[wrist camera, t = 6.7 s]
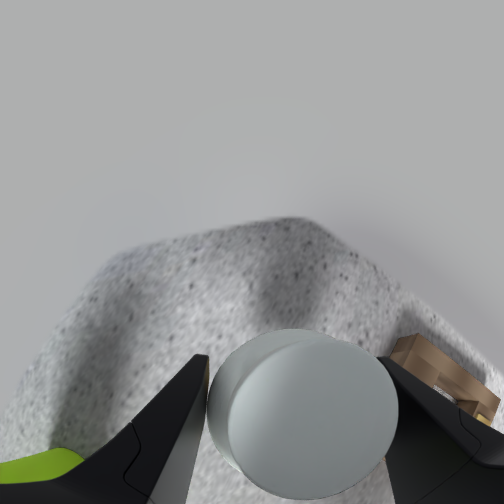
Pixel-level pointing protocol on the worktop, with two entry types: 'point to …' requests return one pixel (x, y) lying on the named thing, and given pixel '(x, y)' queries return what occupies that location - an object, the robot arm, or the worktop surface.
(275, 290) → the worktop surface
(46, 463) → the soap dispenser
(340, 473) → the supplement bottle
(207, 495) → the worktop surface
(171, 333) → the worktop surface
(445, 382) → the socket block
